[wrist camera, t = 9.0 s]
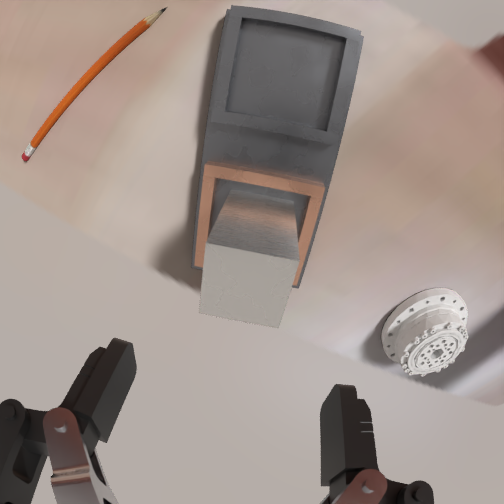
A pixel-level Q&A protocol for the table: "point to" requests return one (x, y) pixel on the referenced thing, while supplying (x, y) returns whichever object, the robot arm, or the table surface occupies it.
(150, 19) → the pencil
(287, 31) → the double frame tray
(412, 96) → the table surface
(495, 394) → the table surface
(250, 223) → the block
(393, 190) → the table surface
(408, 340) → the mechanical component
